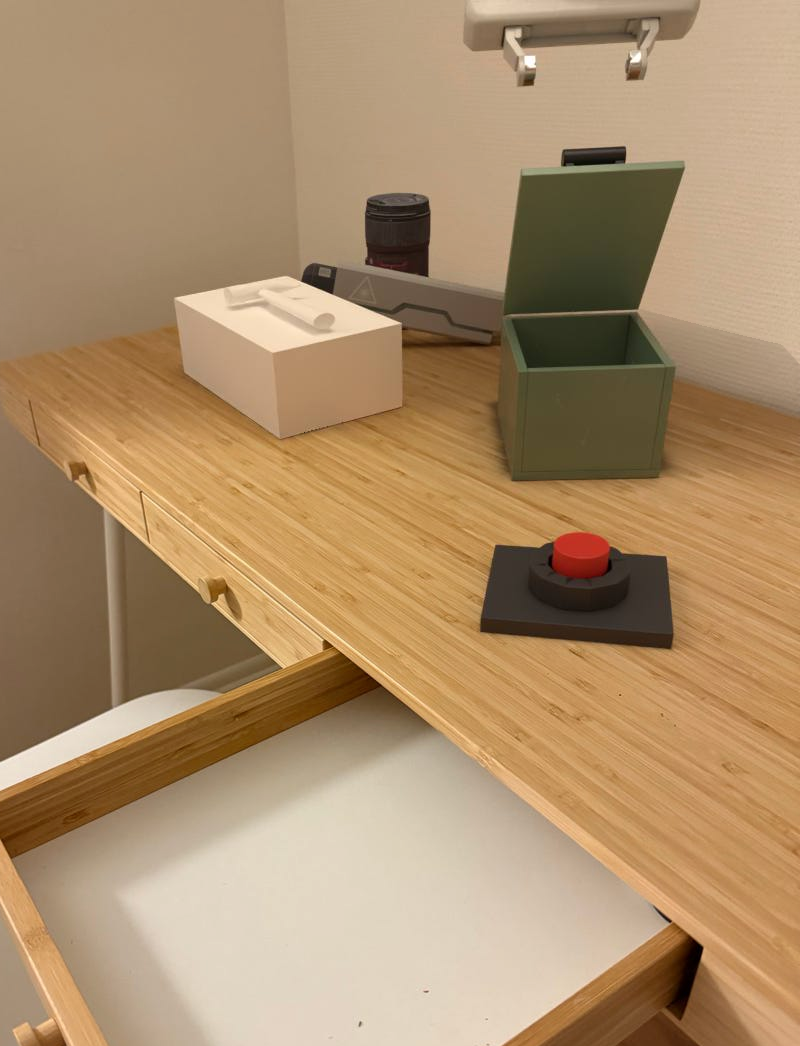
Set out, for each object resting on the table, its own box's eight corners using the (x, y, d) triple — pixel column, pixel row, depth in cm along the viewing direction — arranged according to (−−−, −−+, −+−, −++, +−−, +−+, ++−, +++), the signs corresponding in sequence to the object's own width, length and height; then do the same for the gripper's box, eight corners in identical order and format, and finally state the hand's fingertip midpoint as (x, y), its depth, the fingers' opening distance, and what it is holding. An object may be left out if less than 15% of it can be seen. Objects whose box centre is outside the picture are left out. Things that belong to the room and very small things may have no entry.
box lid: (685, 167, 74) (678, 121, 76) (521, 175, 76) (518, 129, 77) (638, 310, 90) (633, 268, 91) (502, 315, 91) (500, 273, 92)
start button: (607, 556, 65) (610, 533, 64) (606, 583, 62) (610, 560, 61) (553, 552, 66) (555, 530, 65) (550, 579, 63) (552, 556, 62)
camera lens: (385, 335, 120) (383, 207, 112) (357, 320, 126) (352, 197, 118) (441, 324, 123) (443, 198, 114) (410, 310, 129) (410, 189, 121)
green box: (658, 477, 83) (676, 366, 77) (511, 480, 84) (518, 371, 78) (624, 411, 96) (637, 311, 90) (497, 414, 97) (502, 316, 91)
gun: (293, 335, 118) (306, 252, 113) (491, 375, 119) (514, 293, 113) (290, 341, 116) (303, 257, 110) (492, 382, 117) (515, 299, 111)
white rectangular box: (291, 348, 118) (285, 255, 112) (402, 406, 100) (401, 299, 94) (184, 372, 113) (170, 276, 107) (280, 439, 95) (270, 328, 88)
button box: (662, 582, 69) (670, 533, 66) (668, 662, 61) (678, 610, 59) (493, 569, 72) (496, 522, 69) (479, 645, 64) (481, 594, 61)
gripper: (684, -34, 88) (693, 98, 85) (460, -20, 90) (462, 110, 87) (705, -98, 82) (715, 42, 79) (464, -82, 83) (467, 56, 81)
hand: (581, 78), depth 83 cm, fingers open, 8 cm apart
